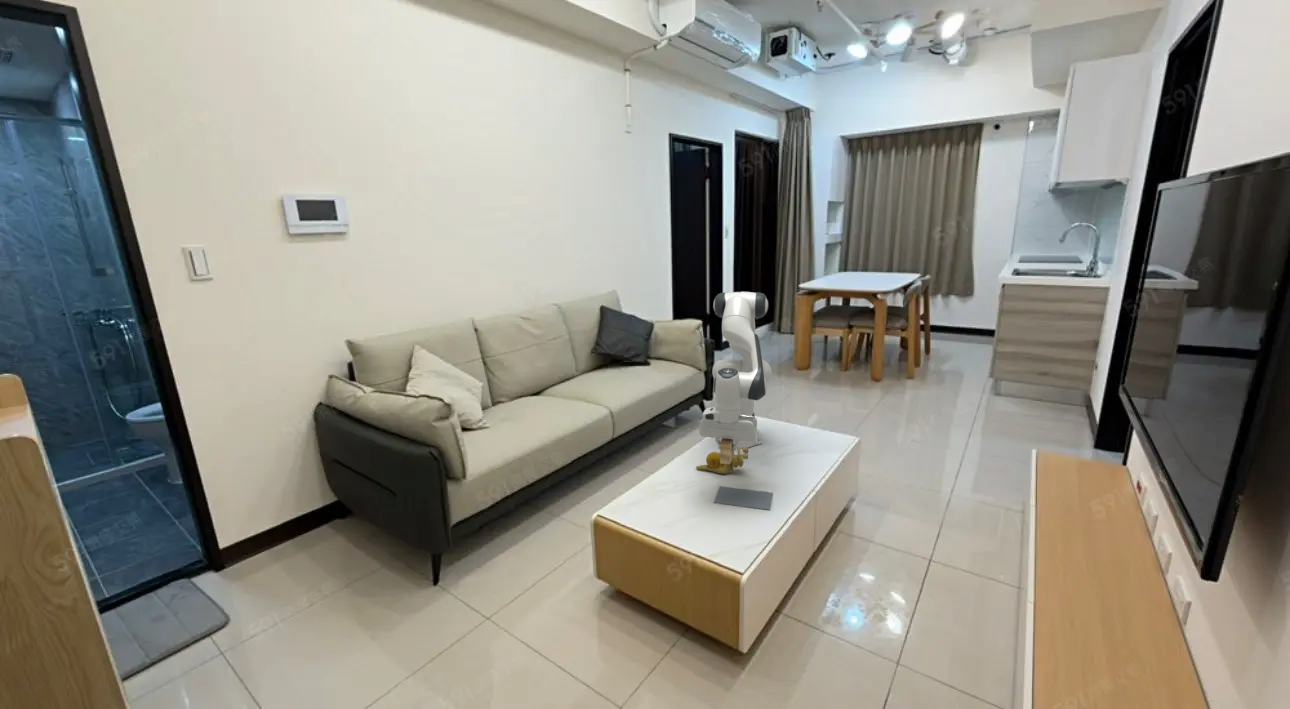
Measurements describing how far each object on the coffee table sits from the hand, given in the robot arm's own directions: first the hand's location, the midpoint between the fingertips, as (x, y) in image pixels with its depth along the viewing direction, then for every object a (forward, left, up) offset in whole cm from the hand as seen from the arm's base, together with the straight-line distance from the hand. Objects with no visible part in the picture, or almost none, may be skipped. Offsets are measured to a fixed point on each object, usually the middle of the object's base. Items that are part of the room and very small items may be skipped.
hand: (727, 449), depth 192 cm
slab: (0, 0, -3) cm, 3 cm away
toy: (-19, -5, -19) cm, 27 cm away
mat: (0, +6, -19) cm, 20 cm away
